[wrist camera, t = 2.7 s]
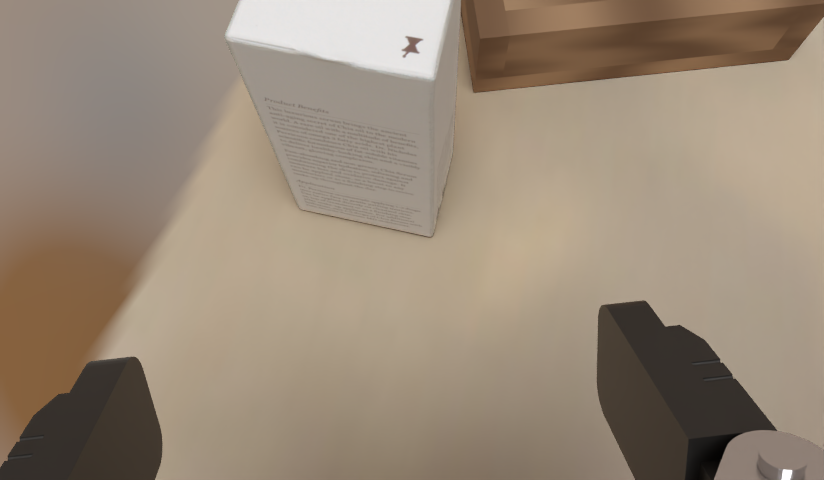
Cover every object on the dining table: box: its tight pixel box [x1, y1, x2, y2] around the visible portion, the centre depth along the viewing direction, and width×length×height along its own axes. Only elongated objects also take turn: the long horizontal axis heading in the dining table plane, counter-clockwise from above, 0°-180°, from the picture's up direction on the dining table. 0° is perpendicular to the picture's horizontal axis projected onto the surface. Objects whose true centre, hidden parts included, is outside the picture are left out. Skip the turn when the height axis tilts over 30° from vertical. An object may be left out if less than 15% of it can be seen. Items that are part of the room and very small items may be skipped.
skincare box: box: [224, 0, 461, 237], centre depth 26 cm, size 6×4×12 cm
